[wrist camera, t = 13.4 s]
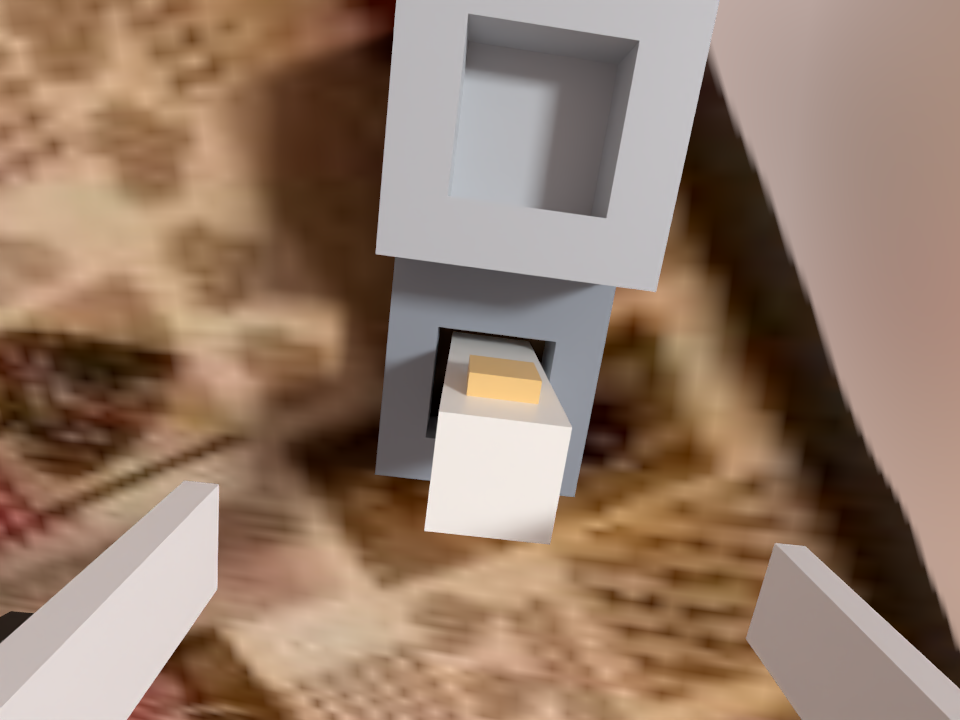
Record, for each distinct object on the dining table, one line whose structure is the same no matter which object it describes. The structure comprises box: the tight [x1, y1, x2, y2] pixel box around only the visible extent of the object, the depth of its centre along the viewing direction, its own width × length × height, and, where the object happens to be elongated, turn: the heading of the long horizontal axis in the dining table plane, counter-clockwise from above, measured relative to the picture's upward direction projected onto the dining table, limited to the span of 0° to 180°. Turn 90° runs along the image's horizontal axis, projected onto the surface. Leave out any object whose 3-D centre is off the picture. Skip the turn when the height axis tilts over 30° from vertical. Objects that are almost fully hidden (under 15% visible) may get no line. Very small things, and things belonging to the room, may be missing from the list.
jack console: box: [375, 0, 719, 497], centre depth 22 cm, size 10×21×8 cm, turn 172°
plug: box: [424, 332, 572, 544], centre depth 22 cm, size 4×5×12 cm
